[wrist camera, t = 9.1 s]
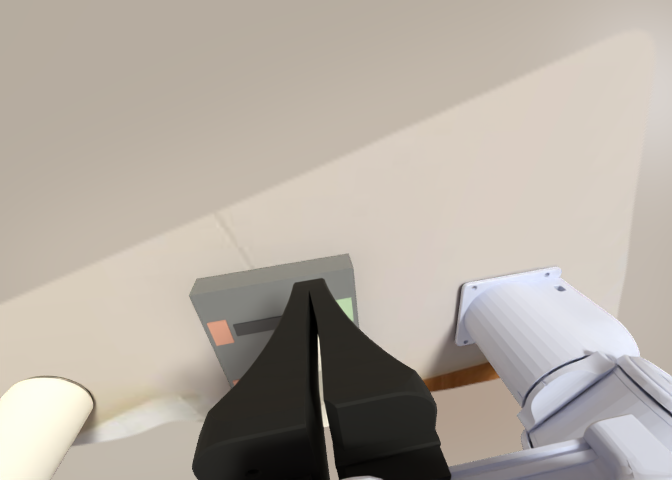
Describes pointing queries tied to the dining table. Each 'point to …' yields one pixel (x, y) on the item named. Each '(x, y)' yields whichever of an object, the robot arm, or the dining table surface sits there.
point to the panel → (262, 306)
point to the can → (40, 425)
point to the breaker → (322, 401)
